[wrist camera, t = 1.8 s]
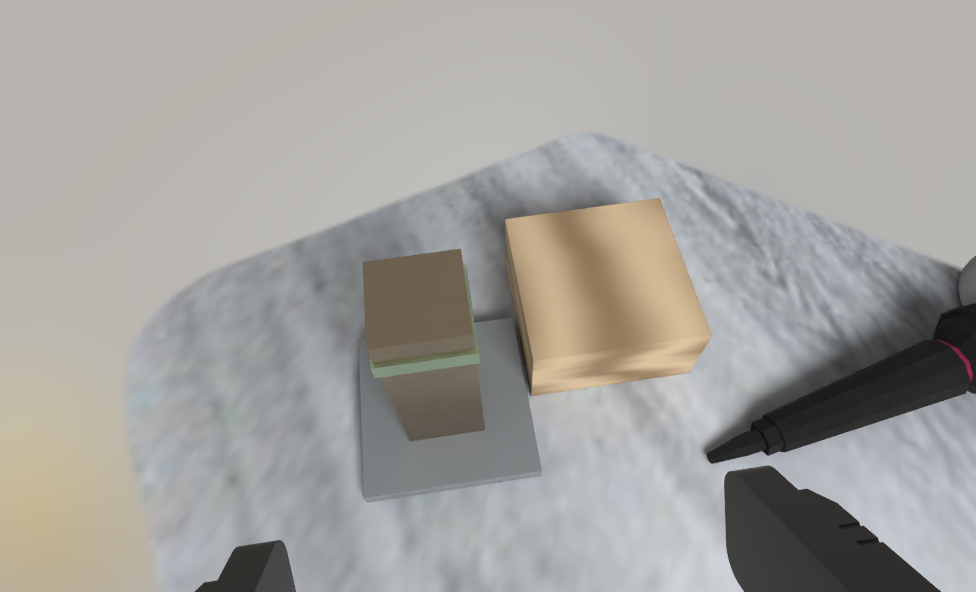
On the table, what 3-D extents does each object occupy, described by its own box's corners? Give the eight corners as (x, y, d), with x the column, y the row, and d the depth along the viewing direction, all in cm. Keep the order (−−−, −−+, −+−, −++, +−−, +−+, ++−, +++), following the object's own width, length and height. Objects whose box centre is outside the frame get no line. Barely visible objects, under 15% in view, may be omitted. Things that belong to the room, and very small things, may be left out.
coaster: (512, 324, 40) (512, 317, 39) (540, 475, 34) (541, 470, 34) (361, 346, 39) (358, 339, 38) (367, 502, 34) (363, 498, 33)
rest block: (645, 244, 43) (659, 198, 38) (689, 372, 37) (711, 335, 33) (505, 264, 42) (505, 219, 38) (531, 396, 37) (533, 361, 33)
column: (477, 359, 37) (463, 245, 27) (488, 432, 35) (477, 337, 25) (402, 370, 37) (359, 260, 27) (407, 444, 35) (363, 353, 24)
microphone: (714, 499, 37) (1013, 381, 37) (749, 513, 31) (1101, 373, 31) (676, 414, 38) (966, 300, 38) (704, 412, 32) (1043, 279, 33)
